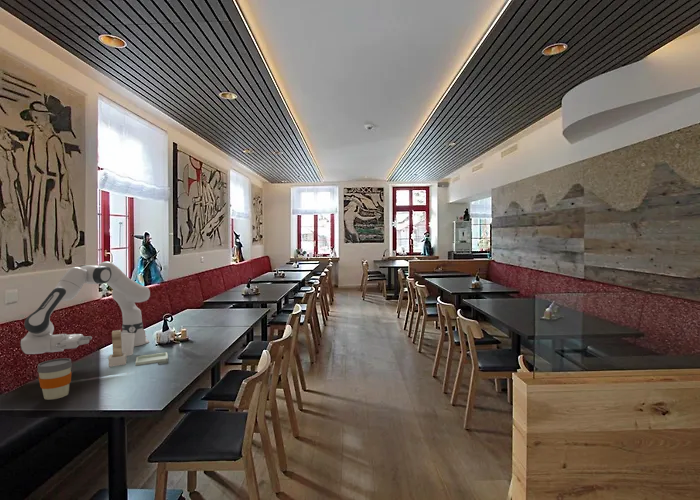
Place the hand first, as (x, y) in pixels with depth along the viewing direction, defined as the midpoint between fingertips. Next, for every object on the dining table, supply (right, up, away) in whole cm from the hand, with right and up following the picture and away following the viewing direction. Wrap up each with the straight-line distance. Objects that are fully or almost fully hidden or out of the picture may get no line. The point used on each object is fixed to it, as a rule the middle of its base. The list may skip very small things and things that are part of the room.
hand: (90, 339), depth 223 cm
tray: (+28, -15, +11) cm, 33 cm away
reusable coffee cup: (+8, -17, -37) cm, 42 cm away
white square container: (+12, -15, +6) cm, 20 cm away
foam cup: (+7, -15, +23) cm, 29 cm away
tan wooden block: (+12, -14, +6) cm, 19 cm away
